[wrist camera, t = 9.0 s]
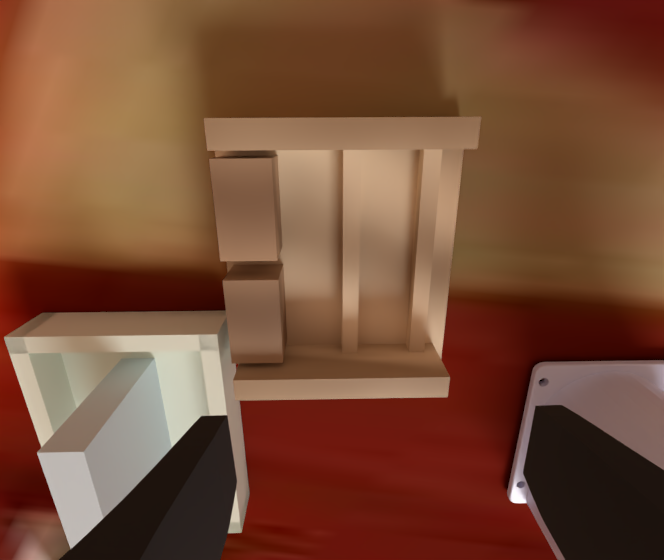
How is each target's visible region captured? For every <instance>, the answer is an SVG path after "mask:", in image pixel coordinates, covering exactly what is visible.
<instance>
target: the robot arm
mask: <svg viewBox="0 0 664 560" xmlns="http://www.w3.org/2000/svg"><path fill="white" fill-rule="evenodd" d="M542 378H544V380H543V381H541V382H539V381H540V380H541V379H542ZM236 486H237V477H236V470H235V463H234V457H233V450H232V443H231V436H230V430H229V423H228V416H227V415H215V416H201V417H200V418H199V419H198V420H197V421H196V422H195V423H194V424H193V425H192V426H191V427H190V428H189V429H188V431H187V432H186V433H185V434H184V435H183V436H182V437H181V438H180V439H179V440H178V442H177V443H176V444H175V445H174V446H173V447H172V448H171V449H170V450H169V451H168V452H167V454H166V455H165V456H164V457H163V458H162V459H161V460H160V461H159V462H158V463H157V464H156V465H155V466H154V468H153V469H152V470H151V471H150V472H149V473H148V474H147V475H146V476H145V477H144V478H143V479H142V480H141V481H140V482H139V483H138V484H137V485H136V486H135V487H134V488H133V490H132V491H131V492H130V493H129V494H128V495H127V496H126V497H125V498H124V499H123V500H122V501H121V502H120V503H119V504H118V505H117V506H116V507H115V508H113V509H112V510H111V511H110V512H109V513H108V514H107V515H106V516H105V517H104V518H103V519H102V520H101V521H100V522H99V523H98V524H97V525H96V526H95V527H94V528H93V529H92V530H91V531H90V532H89V533H88V534H87V535H86V536H85V537H83V538H82V539H81V540H80V541H79V542H78V543H77V544H76V545H75V546H74V547H73V548H71V549H70V550H69V551H68V552H67V553H66V554H65V555H64V556H63V557H61V558H60V559H59V560H220V558H221V555H222V551H223V548H224V544H225V541H226V537H227V534H228V530H229V525H230V520H231V515H232V509H233V504H234V498H235V492H236ZM507 495H508V497H509V499H510V501H511V502H513V503H527V504H528V506H529V508H530V510H531V512H532V513H533V515H534V517H535V519H536V521H537V523H538V524H539V526H540V528H541V530H542V532H543V534H544V535H545V537H546V539H547V541H548V543H549V545H550V546H551V548H552V550H553V552H554V554H555V555H556V557H557V559H558V560H664V360H638V361H570V362H540V363H538V364H536V365H535V366H534V368H533V370H532V375H531V379H530V384H529V389H528V394H527V399H526V404H525V408H524V413H523V418H522V423H521V428H520V433H519V437H518V442H517V447H516V452H515V457H514V462H513V466H512V471H511V476H510V481H509V486H508V491H507Z"/></svg>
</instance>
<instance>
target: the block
mask: <svg viewBox="0 0 664 560" xmlns="http://www.w3.org/2000/svg"><path fill="white" fill-rule="evenodd" d="M171 448H172V446H171V441H170V436H169V430H168V425H167V420H166V415H165V409H164V404H163V399H162V394H161V389H160V383H159V378H158V373H157V368H156V362H155V358H122V359H121V360H120V361H119V362H118V363H117V364H116V365H115V366H114V368H113V369H112V370H111V371H110V372H109V373H108V374H107V375H106V376H105V378H104V379H103V380H102V381H101V382H100V383H99V384H98V385H97V386H96V388H95V389H94V390H93V391H92V392H91V393H90V394H89V395H88V396H87V398H86V399H85V400H84V401H83V402H82V403H81V404H80V405H79V406H78V408H77V409H76V410H75V411H74V412H73V413H72V414H71V415H70V416H69V418H68V419H67V420H66V421H65V422H64V423H63V424H62V425H61V426H60V428H59V429H58V430H57V431H56V432H55V433H54V434H53V435H52V436H51V438H50V439H49V440H48V441H47V442H46V443H45V444H44V445H43V446H42V448H41V449H40V450H39V451H38V452H37V455H38V457H39V460H40V463H41V466H42V469H43V472H44V475H45V477H46V480H47V483H48V486H49V489H50V492H51V495H52V497H53V500H54V503H55V506H56V509H57V512H58V515H59V517H60V520H61V523H62V526H63V529H64V532H65V535H66V537H67V540H68V543H69V546H70V549H71V548H73V547H74V546H75V545H76V544H77V543H78V542H79V541H80V540H81V539H82V538H83V537H85V536H86V535H87V534H88V533H89V532H90V531H91V530H92V529H93V528H94V527H95V526H96V525H97V524H98V523H99V522H100V521H101V520H102V519H103V518H104V517H105V516H106V515H107V514H108V513H109V512H110V511H111V510H112V509H113V508H115V507H116V506H117V505H118V504H119V503H120V502H121V501H122V500H123V499H124V498H125V497H126V496H127V495H128V494H129V493H130V492H131V491H132V490H133V488H134V487H135V486H136V485H137V484H138V483H139V482H140V481H141V480H142V479H143V478H144V477H145V476H146V475H147V474H148V473H149V472H150V471H151V470H152V469H153V468H154V466H155V465H156V464H157V463H158V462H159V461H160V460H161V459H162V458H163V457H164V456H165V455H166V454H167V452H168V451H169V450H170V449H171Z"/></svg>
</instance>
